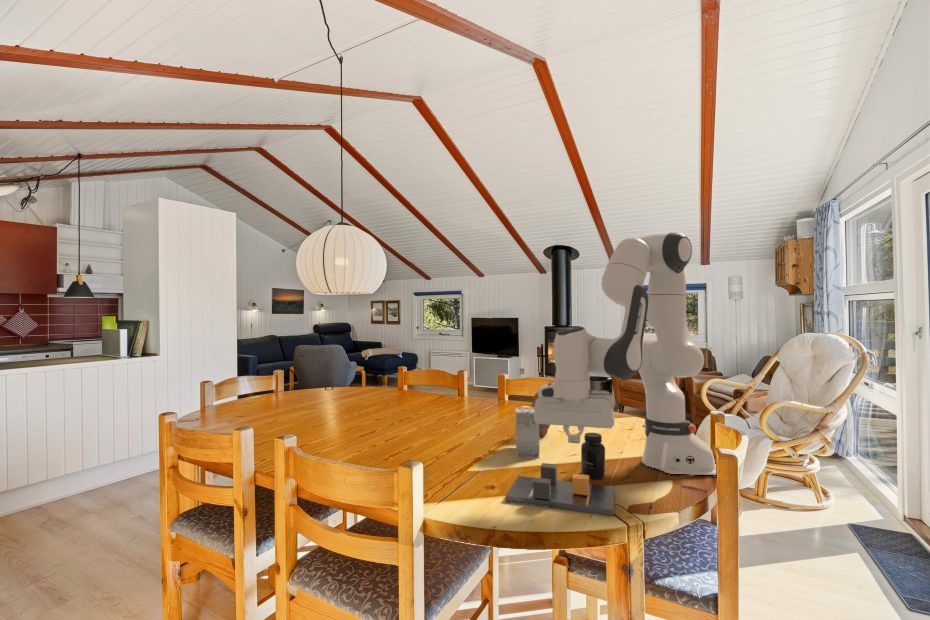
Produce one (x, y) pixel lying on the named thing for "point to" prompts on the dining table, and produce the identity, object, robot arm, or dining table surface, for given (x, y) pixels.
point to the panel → (564, 497)
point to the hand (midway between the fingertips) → (574, 442)
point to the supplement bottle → (593, 456)
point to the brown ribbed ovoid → (542, 427)
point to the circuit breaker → (526, 433)
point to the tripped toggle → (580, 484)
